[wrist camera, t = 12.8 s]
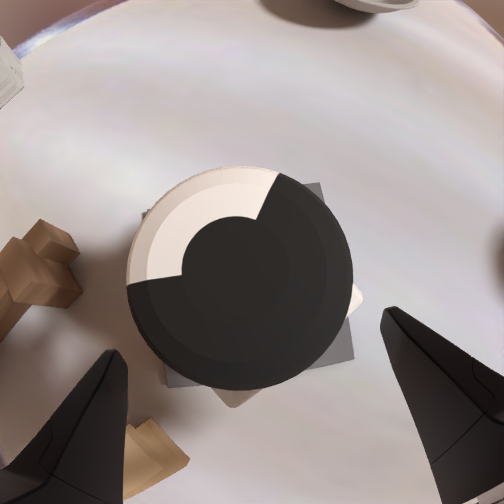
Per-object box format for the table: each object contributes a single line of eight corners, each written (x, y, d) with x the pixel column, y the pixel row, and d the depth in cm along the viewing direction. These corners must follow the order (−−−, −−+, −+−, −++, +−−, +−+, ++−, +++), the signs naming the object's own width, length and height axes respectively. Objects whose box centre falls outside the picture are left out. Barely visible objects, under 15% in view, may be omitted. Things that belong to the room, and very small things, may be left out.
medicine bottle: (328, 306, 19) (432, 284, 7) (240, 379, 18) (215, 469, 6) (256, 221, 20) (255, 95, 8) (169, 290, 19) (56, 248, 7)
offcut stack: (189, 458, 17) (182, 473, 15) (83, 515, 15) (71, 526, 13) (145, 411, 18) (132, 421, 15) (49, 477, 16) (35, 486, 14)
